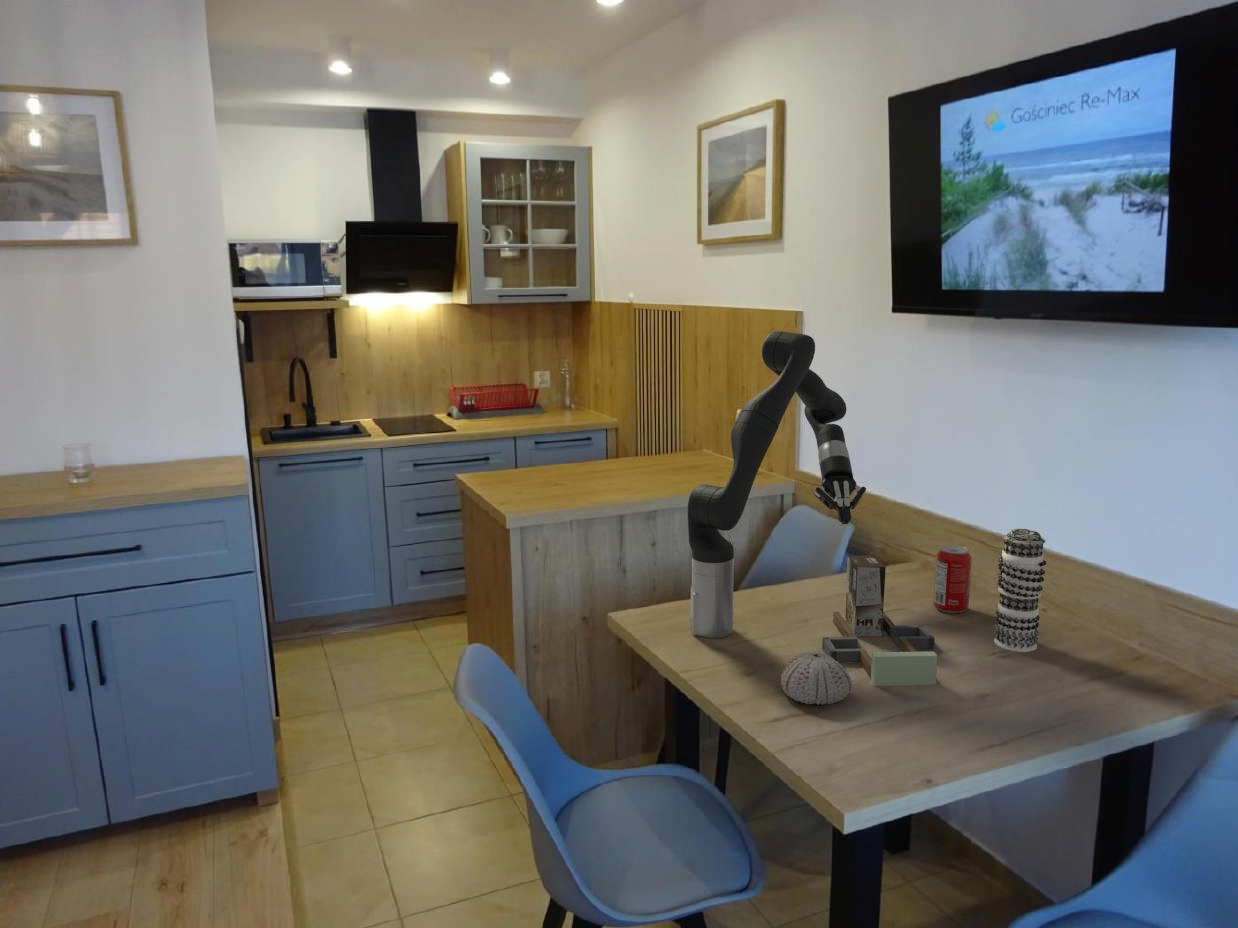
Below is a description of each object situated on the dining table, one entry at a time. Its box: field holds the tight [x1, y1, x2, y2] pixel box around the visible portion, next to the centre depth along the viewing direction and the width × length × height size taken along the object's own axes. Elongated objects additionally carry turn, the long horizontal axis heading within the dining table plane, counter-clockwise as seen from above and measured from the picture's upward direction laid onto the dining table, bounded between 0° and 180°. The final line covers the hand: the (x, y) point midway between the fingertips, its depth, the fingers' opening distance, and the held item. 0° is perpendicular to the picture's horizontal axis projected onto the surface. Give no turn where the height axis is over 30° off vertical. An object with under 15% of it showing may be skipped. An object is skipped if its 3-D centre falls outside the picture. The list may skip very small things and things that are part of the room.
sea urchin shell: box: [780, 651, 854, 706], centre depth 167 cm, size 13×14×8 cm
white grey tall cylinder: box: [993, 528, 1047, 653], centre depth 187 cm, size 9×9×25 cm
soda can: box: [932, 544, 973, 615], centre depth 208 cm, size 8×8×15 cm
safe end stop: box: [870, 651, 938, 687], centre depth 171 cm, size 12×2×6 cm, turn 90°
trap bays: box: [821, 624, 935, 664], centre depth 187 cm, size 23×13×2 cm, turn 90°
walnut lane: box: [832, 611, 918, 679], centre depth 187 cm, size 11×32×2 cm, turn 1°
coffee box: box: [844, 554, 887, 638], centre depth 197 cm, size 9×6×16 cm
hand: (845, 522), depth 212 cm, fingers closed
